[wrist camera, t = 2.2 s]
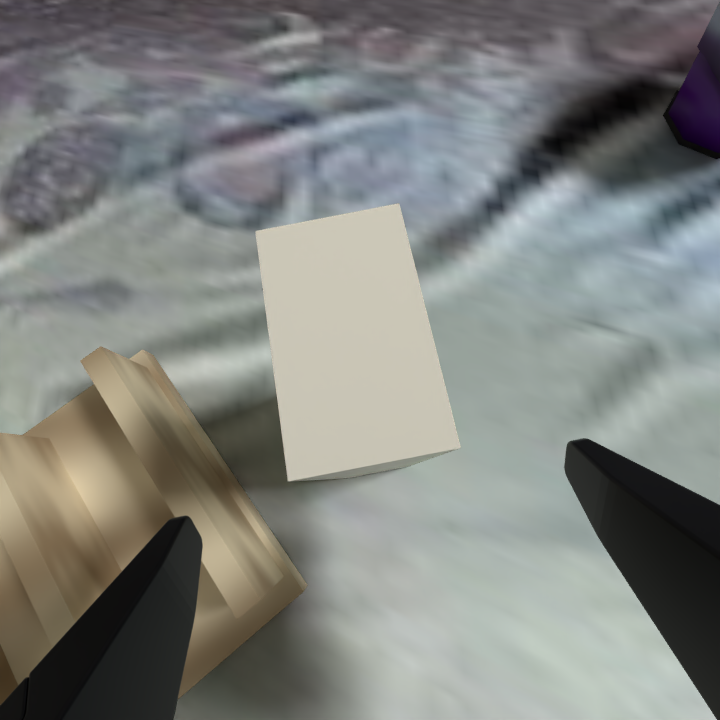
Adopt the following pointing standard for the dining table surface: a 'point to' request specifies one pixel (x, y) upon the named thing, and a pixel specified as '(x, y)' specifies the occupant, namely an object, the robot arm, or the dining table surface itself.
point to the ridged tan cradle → (126, 518)
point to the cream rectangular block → (352, 347)
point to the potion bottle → (700, 97)
